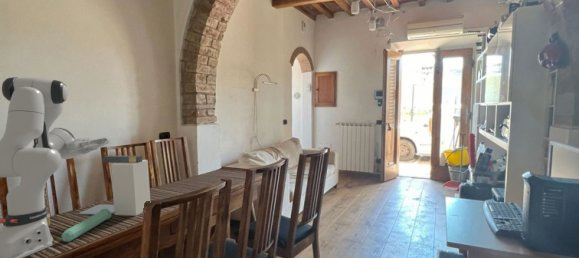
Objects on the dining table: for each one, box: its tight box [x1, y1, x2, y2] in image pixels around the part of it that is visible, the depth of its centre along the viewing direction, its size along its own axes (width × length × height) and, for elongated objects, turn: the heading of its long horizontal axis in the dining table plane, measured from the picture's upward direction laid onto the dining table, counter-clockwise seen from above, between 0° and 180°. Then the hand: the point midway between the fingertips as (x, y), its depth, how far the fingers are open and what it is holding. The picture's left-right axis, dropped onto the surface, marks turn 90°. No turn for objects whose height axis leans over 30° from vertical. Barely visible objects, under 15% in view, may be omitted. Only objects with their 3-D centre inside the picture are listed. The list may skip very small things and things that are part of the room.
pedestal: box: [110, 159, 151, 217], centre depth 155 cm, size 12×12×26 cm
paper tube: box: [44, 181, 51, 227], centre depth 137 cm, size 7×7×25 cm
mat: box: [77, 203, 115, 216], centre depth 159 cm, size 14×18×1 cm
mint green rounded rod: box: [61, 209, 112, 243], centre depth 133 cm, size 6×6×25 cm
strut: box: [102, 155, 143, 164], centre depth 155 cm, size 4×20×3 cm, turn 82°
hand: (98, 140), depth 157 cm, fingers open, 8 cm apart
